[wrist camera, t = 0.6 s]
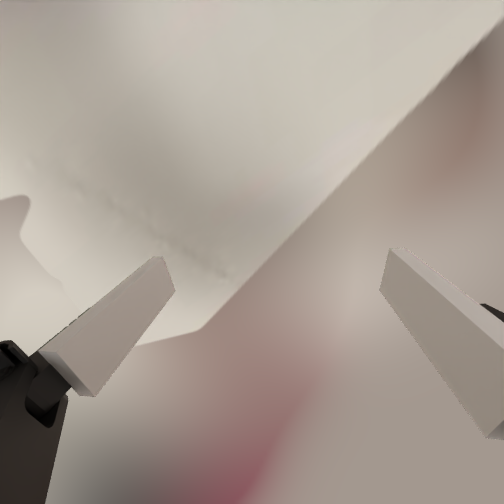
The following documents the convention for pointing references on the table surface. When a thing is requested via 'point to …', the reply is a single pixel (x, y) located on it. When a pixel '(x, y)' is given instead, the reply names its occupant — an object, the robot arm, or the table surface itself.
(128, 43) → the table surface
